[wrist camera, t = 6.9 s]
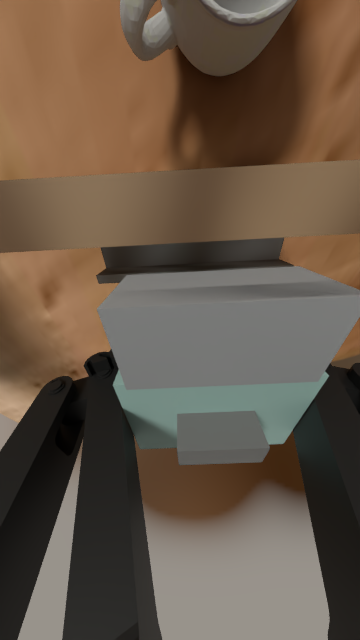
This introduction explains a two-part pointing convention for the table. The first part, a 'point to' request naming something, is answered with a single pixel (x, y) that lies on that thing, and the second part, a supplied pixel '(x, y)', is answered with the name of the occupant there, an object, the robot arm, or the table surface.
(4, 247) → the wall board
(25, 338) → the table surface
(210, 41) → the teacup
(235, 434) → the cabinet
